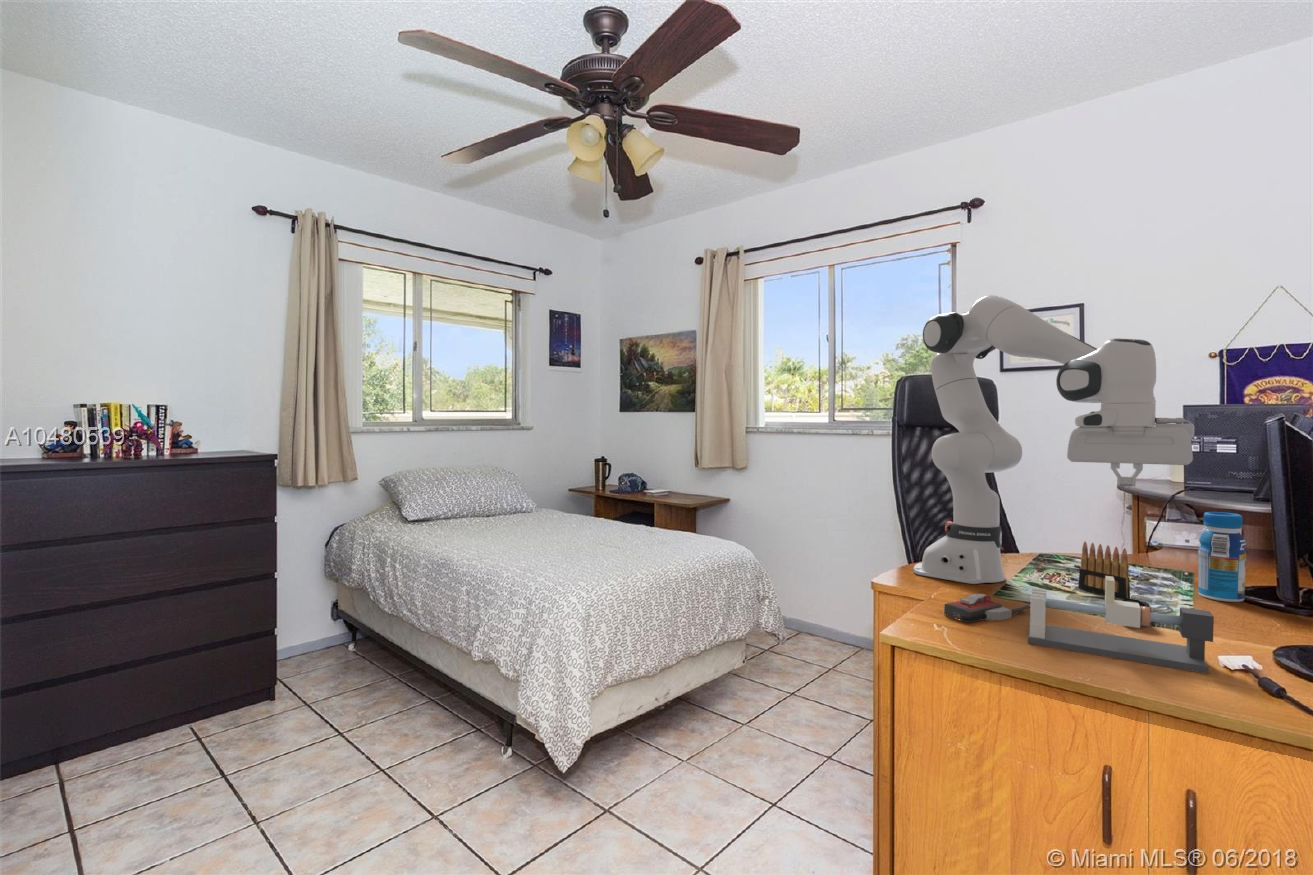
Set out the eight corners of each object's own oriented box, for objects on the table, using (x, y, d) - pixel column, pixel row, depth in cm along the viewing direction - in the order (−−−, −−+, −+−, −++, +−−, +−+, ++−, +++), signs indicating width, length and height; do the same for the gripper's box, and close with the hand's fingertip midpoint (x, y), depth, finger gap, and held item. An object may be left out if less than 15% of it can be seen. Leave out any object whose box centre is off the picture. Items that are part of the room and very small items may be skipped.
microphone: (1136, 619, 141) (1119, 629, 127) (1127, 593, 142) (1109, 600, 128) (1166, 616, 137) (1151, 627, 123) (1156, 590, 138) (1141, 597, 125)
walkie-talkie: (974, 629, 127) (1034, 614, 136) (974, 608, 126) (1034, 595, 135) (937, 616, 135) (997, 604, 143) (938, 596, 134) (997, 585, 143)
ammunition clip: (1078, 588, 154) (1078, 541, 154) (1082, 587, 155) (1083, 540, 155) (1125, 599, 145) (1126, 549, 144) (1130, 598, 145) (1131, 548, 145)
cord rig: (1027, 643, 117) (1028, 596, 117) (1030, 628, 126) (1030, 584, 125) (1216, 675, 103) (1217, 622, 102) (1204, 655, 111) (1205, 606, 111)
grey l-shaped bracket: (1105, 623, 113) (1106, 580, 113) (1104, 617, 116) (1105, 575, 116) (1140, 628, 110) (1141, 584, 110) (1138, 622, 114) (1138, 579, 113)
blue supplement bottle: (1187, 592, 150) (1189, 511, 149) (1220, 592, 150) (1222, 510, 149) (1220, 603, 141) (1222, 517, 140) (1255, 602, 141) (1258, 516, 141)
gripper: (1191, 417, 122) (1190, 487, 122) (1067, 418, 133) (1066, 481, 133) (1197, 417, 116) (1196, 490, 117) (1068, 418, 128) (1066, 484, 128)
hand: (1126, 485), depth 125 cm, fingers closed
